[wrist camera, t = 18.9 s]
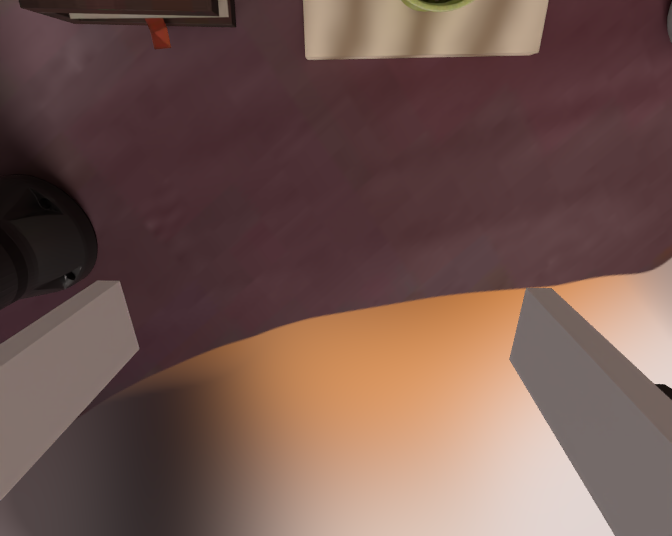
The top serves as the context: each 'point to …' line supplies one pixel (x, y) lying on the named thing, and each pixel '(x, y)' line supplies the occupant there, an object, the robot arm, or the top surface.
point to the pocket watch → (670, 23)
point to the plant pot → (436, 5)
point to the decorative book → (140, 13)
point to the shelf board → (421, 29)
